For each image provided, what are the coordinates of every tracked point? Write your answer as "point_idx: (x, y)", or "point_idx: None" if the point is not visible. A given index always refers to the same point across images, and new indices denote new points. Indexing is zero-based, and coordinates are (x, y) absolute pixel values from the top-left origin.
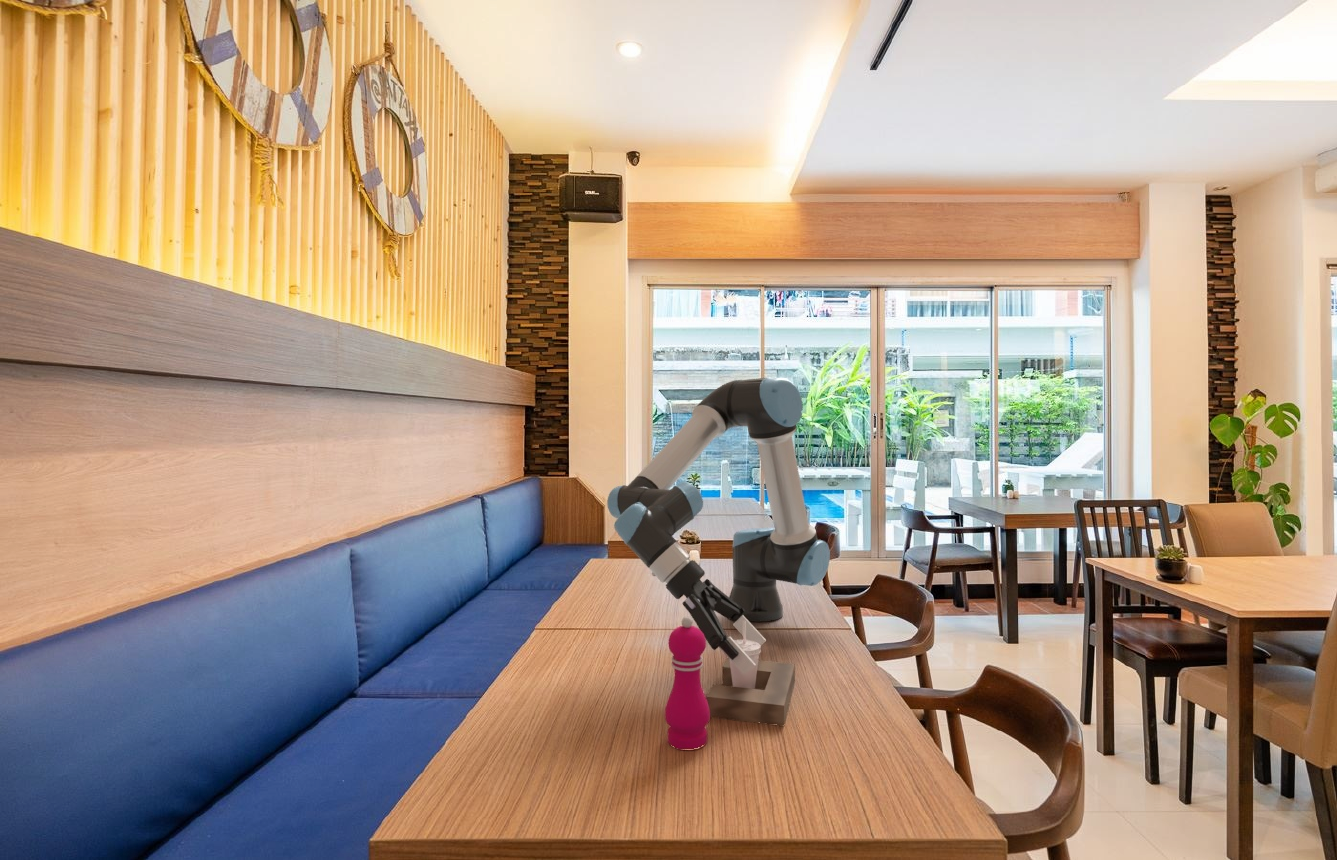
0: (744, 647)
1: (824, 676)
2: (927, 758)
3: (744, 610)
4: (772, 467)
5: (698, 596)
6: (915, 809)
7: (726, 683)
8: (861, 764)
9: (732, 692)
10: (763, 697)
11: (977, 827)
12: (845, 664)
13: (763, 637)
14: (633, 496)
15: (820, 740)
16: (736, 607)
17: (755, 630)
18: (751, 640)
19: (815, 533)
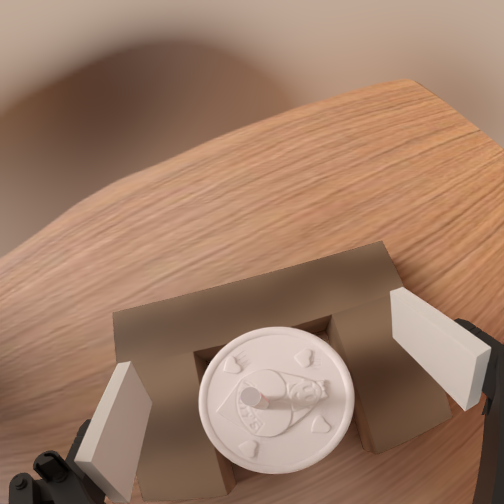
0: (311, 380)
1: (88, 281)
2: (321, 105)
3: (43, 455)
4: None
5: None
6: (422, 108)
7: (232, 475)
8: (391, 147)
9: (396, 378)
10: (375, 296)
11: (405, 82)
12: (33, 265)
13: (116, 370)
14: None
15: (373, 199)
16: (37, 499)
17: (117, 396)
18: (139, 417)
19: None
